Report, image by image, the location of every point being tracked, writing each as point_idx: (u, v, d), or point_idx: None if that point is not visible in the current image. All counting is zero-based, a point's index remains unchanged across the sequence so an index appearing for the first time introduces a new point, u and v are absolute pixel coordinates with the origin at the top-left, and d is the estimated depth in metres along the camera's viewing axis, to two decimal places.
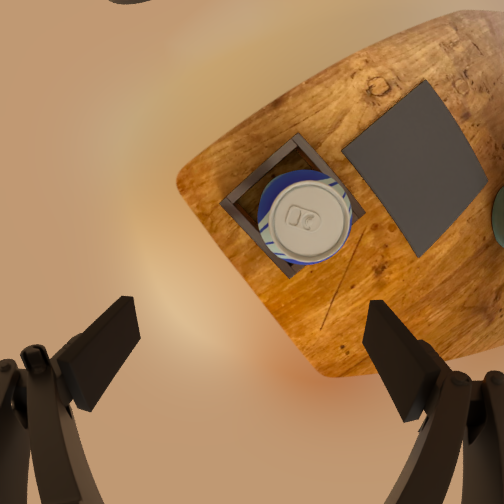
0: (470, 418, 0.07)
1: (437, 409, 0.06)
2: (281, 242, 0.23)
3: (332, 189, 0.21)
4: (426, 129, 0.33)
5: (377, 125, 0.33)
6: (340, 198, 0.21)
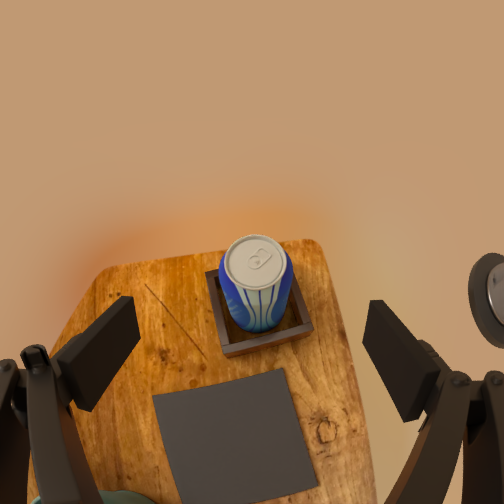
0: (470, 418, 0.07)
1: (437, 409, 0.06)
2: (250, 240, 0.32)
3: (270, 284, 0.28)
4: (267, 461, 0.31)
5: (291, 411, 0.35)
6: (261, 287, 0.28)
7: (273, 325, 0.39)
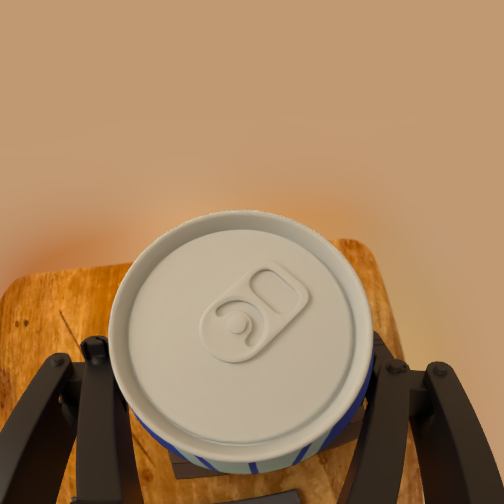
0: (412, 408, 0.08)
1: (375, 399, 0.07)
2: (224, 231, 0.08)
3: (304, 441, 0.05)
4: None
5: None
6: (260, 453, 0.05)
7: None
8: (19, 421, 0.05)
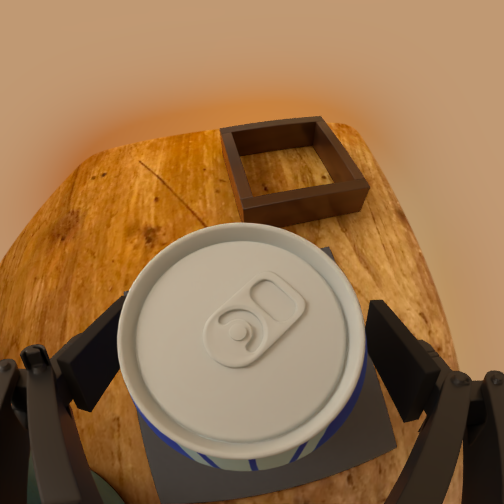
0: (470, 418, 0.07)
1: (437, 409, 0.06)
2: (226, 243, 0.09)
3: (300, 439, 0.05)
4: None
5: None
6: (260, 451, 0.05)
7: None
8: None
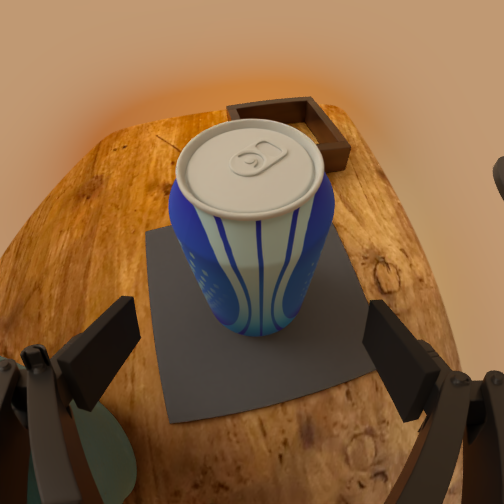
0: (470, 418, 0.07)
1: (437, 409, 0.06)
2: None
3: (288, 206, 0.11)
4: (311, 318, 0.24)
5: (337, 242, 0.28)
6: (264, 212, 0.10)
7: (284, 323, 0.21)
8: None
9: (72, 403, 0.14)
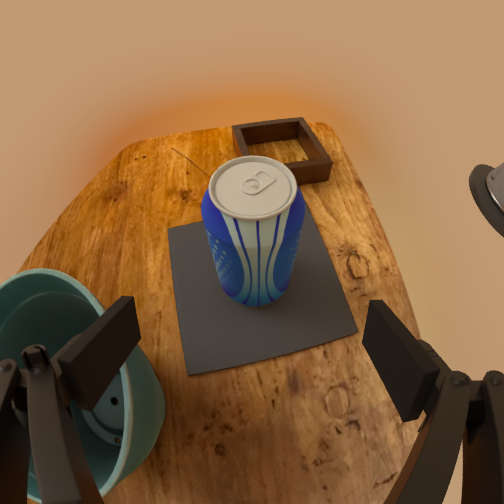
0: (469, 418, 0.07)
1: (436, 409, 0.06)
2: (247, 162, 0.22)
3: (274, 212, 0.19)
4: (296, 294, 0.33)
5: (318, 239, 0.37)
6: (260, 216, 0.19)
7: (275, 295, 0.30)
8: None
9: None
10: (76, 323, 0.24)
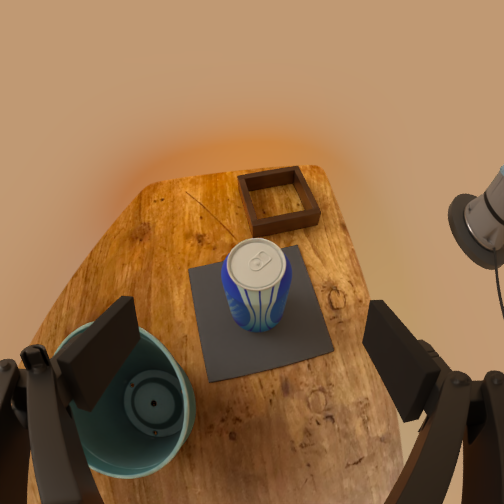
0: (470, 418, 0.07)
1: (437, 409, 0.06)
2: (252, 243, 0.33)
3: (270, 285, 0.30)
4: (288, 322, 0.44)
5: (306, 278, 0.48)
6: (261, 288, 0.30)
7: (272, 325, 0.41)
8: None
9: None
10: None
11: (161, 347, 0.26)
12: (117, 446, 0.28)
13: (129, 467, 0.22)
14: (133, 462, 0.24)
